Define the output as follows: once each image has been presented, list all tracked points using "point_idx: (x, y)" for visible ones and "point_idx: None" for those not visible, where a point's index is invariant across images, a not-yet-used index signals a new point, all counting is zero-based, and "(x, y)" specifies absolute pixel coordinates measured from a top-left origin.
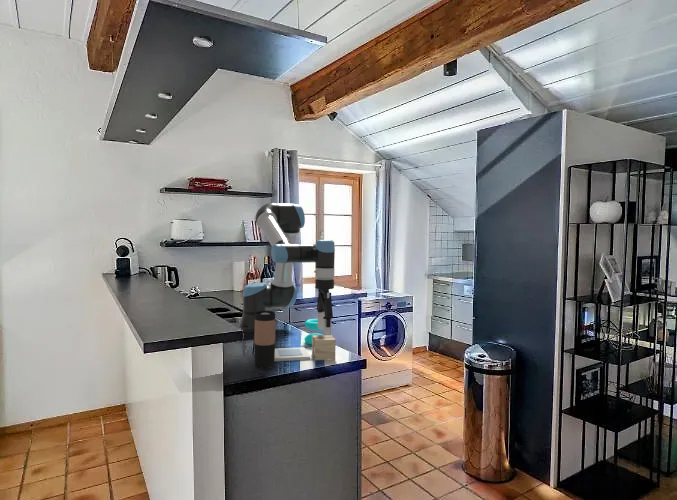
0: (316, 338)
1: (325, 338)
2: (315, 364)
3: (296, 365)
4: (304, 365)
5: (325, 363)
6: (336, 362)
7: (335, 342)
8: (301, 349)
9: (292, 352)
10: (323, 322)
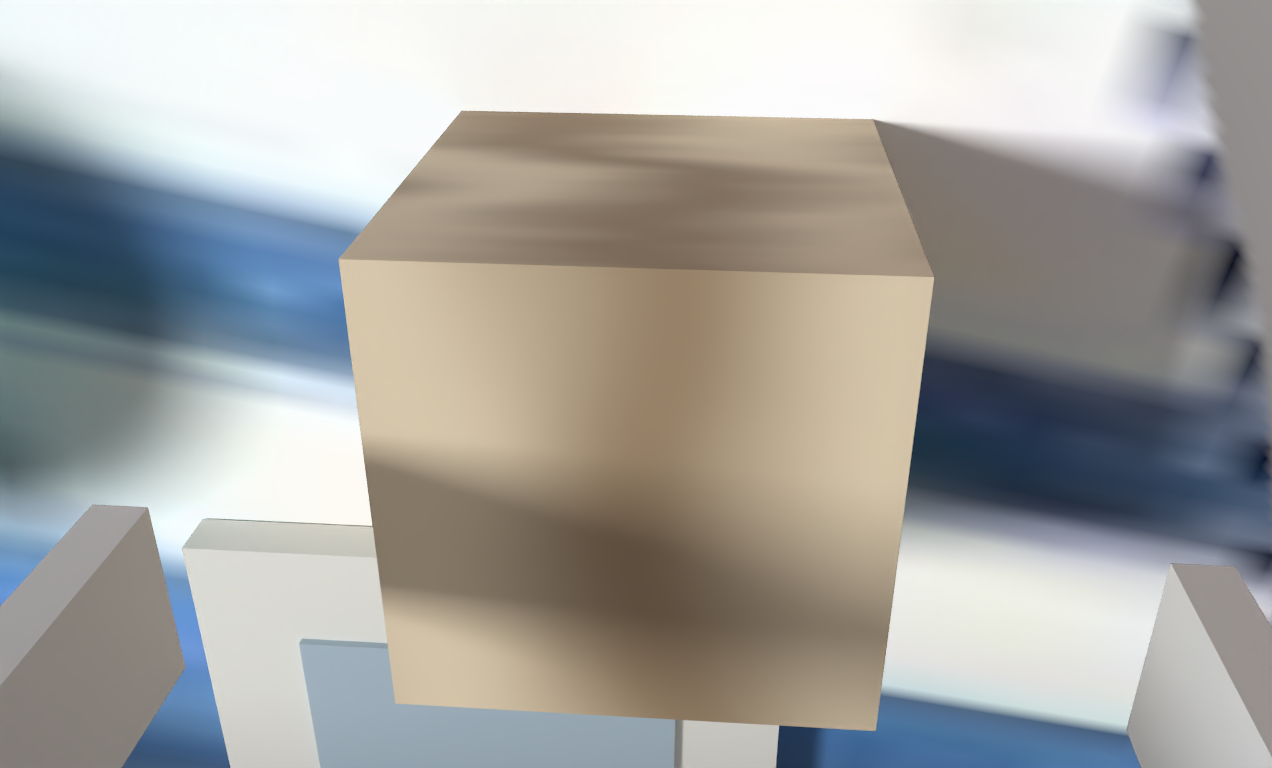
0: (712, 684)
1: (755, 502)
2: (1074, 517)
3: (1025, 755)
4: (1065, 666)
5: (1078, 356)
6: (1090, 147)
7: (919, 246)
8: (326, 614)
9: (523, 765)
10: (57, 651)
